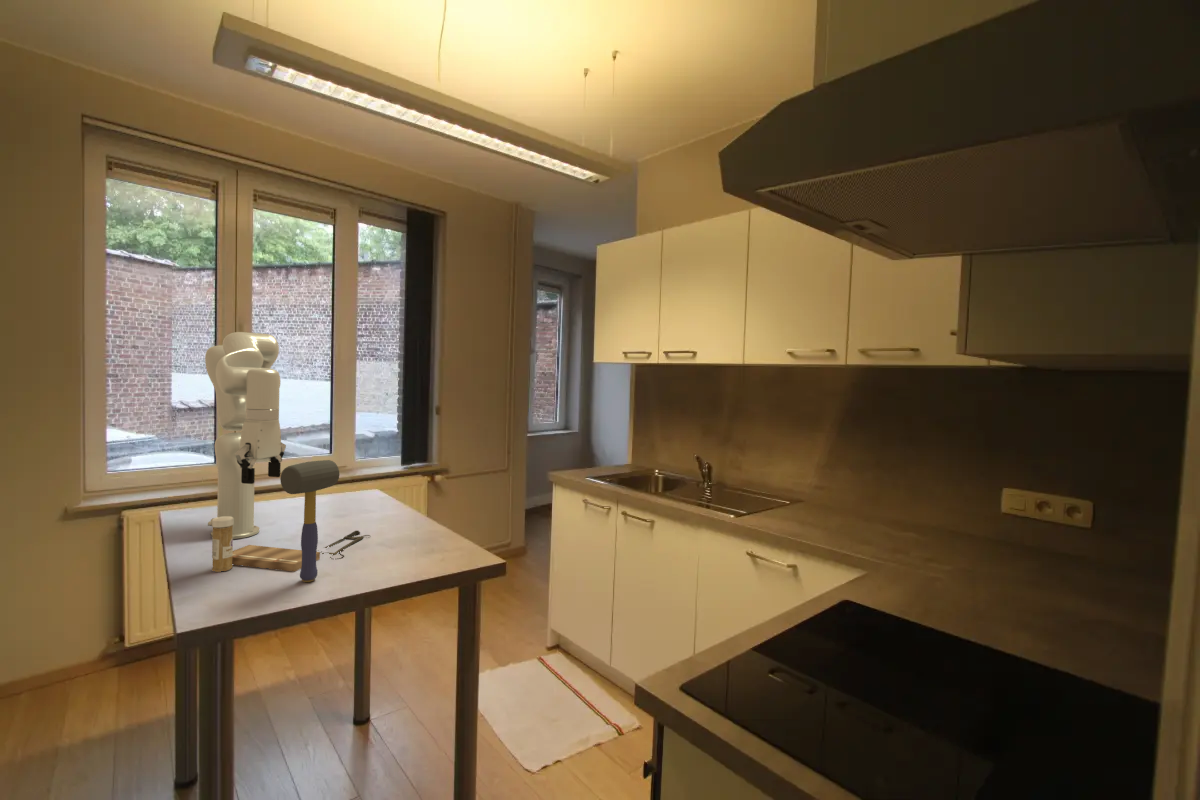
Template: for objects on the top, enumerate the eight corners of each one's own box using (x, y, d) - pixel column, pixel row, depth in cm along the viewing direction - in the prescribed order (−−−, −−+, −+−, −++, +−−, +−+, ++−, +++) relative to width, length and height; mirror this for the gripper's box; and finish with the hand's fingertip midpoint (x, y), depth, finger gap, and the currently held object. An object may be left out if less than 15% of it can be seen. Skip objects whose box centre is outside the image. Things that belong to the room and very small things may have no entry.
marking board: (219, 563, 147) (219, 555, 147) (248, 551, 157) (249, 544, 157) (294, 571, 144) (294, 563, 144) (319, 559, 154) (319, 551, 154)
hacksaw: (355, 533, 180) (355, 529, 179) (385, 536, 178) (385, 532, 178) (305, 557, 156) (305, 552, 156) (339, 561, 154) (339, 555, 154)
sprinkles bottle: (232, 570, 143) (233, 519, 142) (211, 573, 140) (212, 521, 140) (232, 565, 147) (233, 514, 146) (211, 568, 144) (212, 516, 143)
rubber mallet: (317, 570, 146) (320, 456, 144) (339, 575, 143) (342, 459, 142) (275, 586, 134) (277, 463, 133) (298, 592, 131) (300, 466, 130)
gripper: (272, 413, 156) (271, 473, 156) (223, 417, 138) (222, 485, 139) (297, 414, 155) (295, 475, 155) (251, 418, 138) (250, 487, 138)
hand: (261, 479), depth 147 cm, fingers open, 9 cm apart
